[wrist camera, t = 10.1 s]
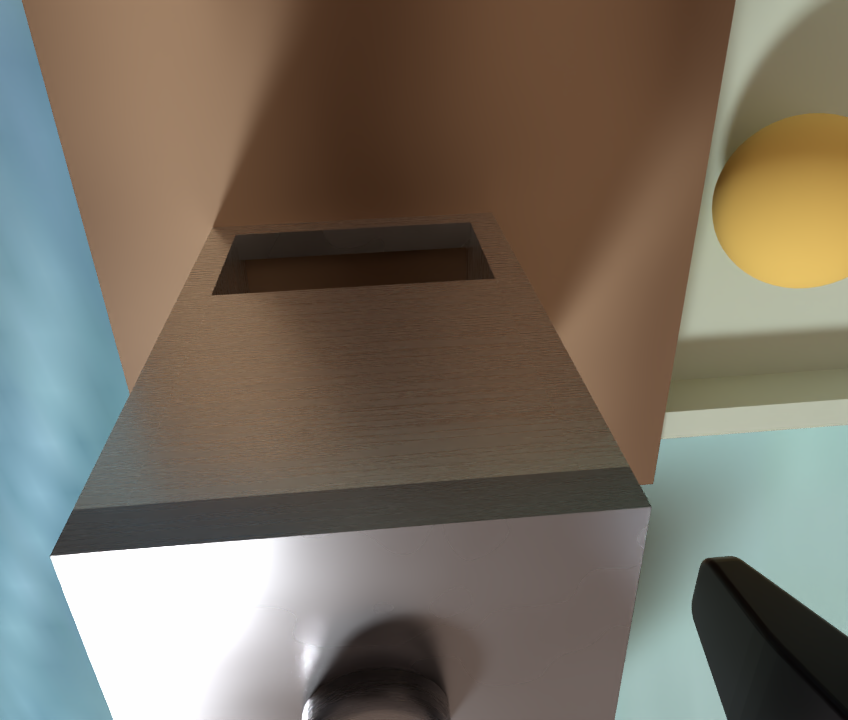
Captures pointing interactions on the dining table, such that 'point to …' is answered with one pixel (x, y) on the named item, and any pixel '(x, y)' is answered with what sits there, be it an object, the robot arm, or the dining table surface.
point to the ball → (787, 202)
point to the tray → (736, 290)
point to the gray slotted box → (357, 499)
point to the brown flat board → (402, 154)
